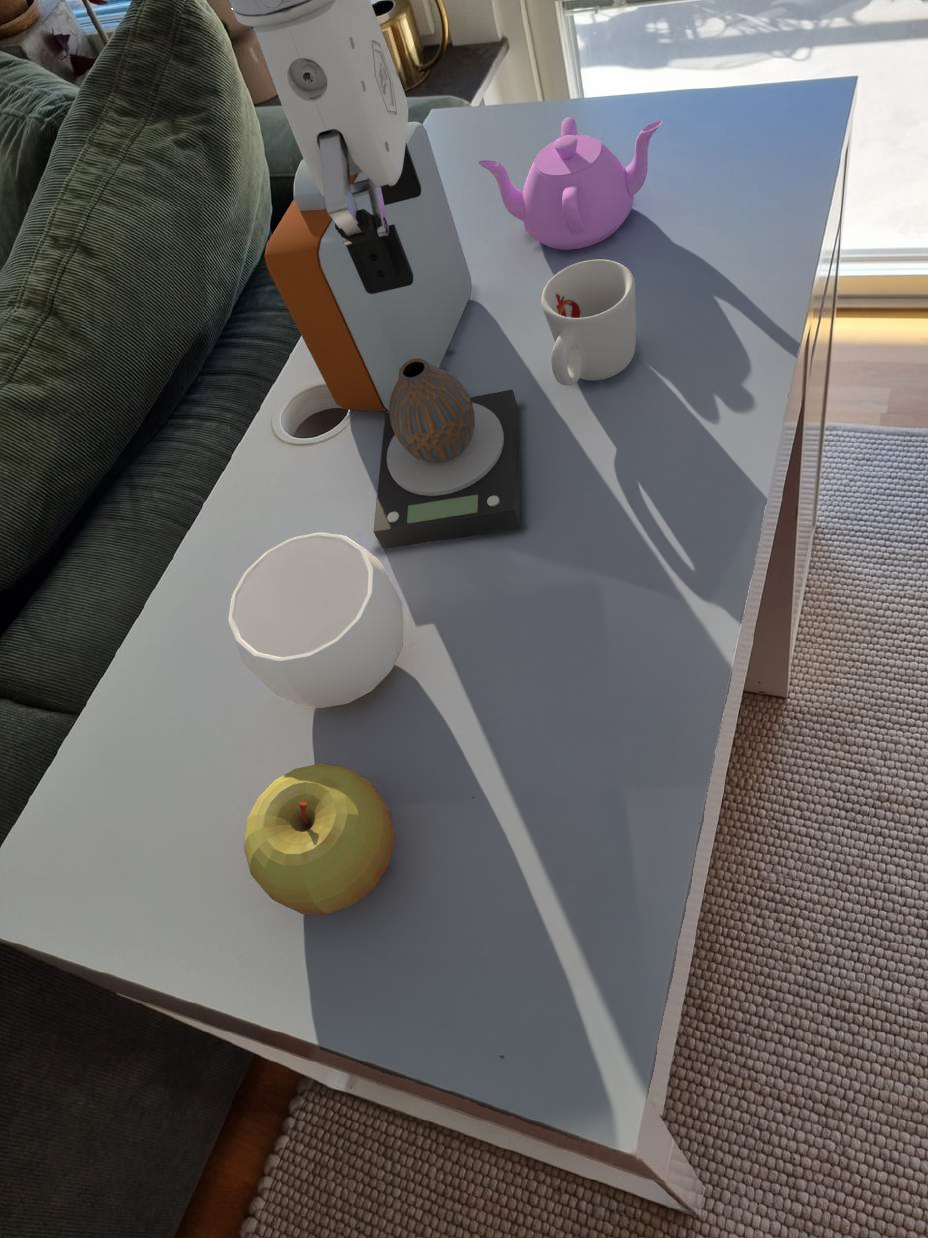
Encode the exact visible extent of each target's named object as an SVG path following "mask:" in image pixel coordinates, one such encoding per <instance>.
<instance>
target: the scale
mask: <svg viewBox="0 0 928 1238" xmlns="http://www.w3.org/2000/svg"><path fill="white" fill-rule="evenodd" d="M470 399H471V401H472V404H473V408H474V413H475V428H474V433H473V436H472V439H471V441H470V442H469V444H468V446H467V447H466V448H465V450H464V451H463V452H462V453H460V454H459V455H458V456H457V457H455V458H453V459H451V460H449V461H446V462H440V463H431V462H426V461H422V460H419V459H417V458H416V457H414V456H413V455H411V454H410V453H409V452H408V451H407V450H406V449H405V448H404V447H403V446H402V445H401V444H400V442H399V440H398V439H397V437H396V435H395V433H394V431H393V428H392V425H391V421H390V412H389V411H387V412H385V413H384V422H383V430H382V431H383V432H382V440H381V441H382V443H381V452H380V461H379V473H378V484H377V492H376V493H377V494H376V502H375V513H374V525H373V533H374V535H375V537H376V539H377V541H378V542H379V544H380V547H381V548H382V550H385V549H392V548H398V547H404V546H412V545H418V544H425V543H432V542H438V541H444V540H450V539H452V540H453V539H458V538H465V537H472V536H477V535H484V534H485V535H486V534H490V533H497V532H503V531H510V530H516V529H517V530H518V529H521V494H520V493H521V489H520V488H521V486H520V484H521V483H520V482H521V481H520V479H521V477H520V408H519V405H518V402H517V398H516V393H515V392H514V389H506V390H501V391H496V392H491V393H484V394H480V395H475V396H474V395H473V396H470Z"/></svg>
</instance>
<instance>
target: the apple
mask: <svg viewBox="0 0 928 1238" xmlns="http://www.w3.org/2000/svg"><path fill="white" fill-rule="evenodd" d="M392 817H393V816H392V813H391V811H390V809H389V807H388V805H387V804H386V802H385V801H384V799H383V798H382V797H381V795H380V793H379V791H378V790H377V789H376V787H375V786H374V785H373V784H372V783H371V782H370V781H369V780H368V779H367V778H365V777H363V776H362V775H360V774H359V773H357V772H356V771H353V770H352V769H350V768H349V767H345V766H338V765H332V764H325V763H317V764H316V763H315V764H311V765H306V766H302V767H296V768H294V769H292V770H291V771H288V772H287V773H285V774H283V775H282V776H280V777H278V778H276V779H274V781H272V782H271V783H270V784H269V786H268V787H267V788H266V789H265V790H264V791H263V792H262V793H261V794H260V795H259V796H258V797H257V799H256V801H255V803H254V805H253V807H252V808H251V811H250V814H249V815H248V817H247V820H246V827H245V835H244V842H243V843H244V845H243V846H244V848H243V849H244V855H245V858H246V863H247V866H248V870H249V874H250V875H251V877H252V878H253V879H254V881H255V882H256V883H257V884H258V885H259V887H260V888H261V889H262V890H263V891H264V892H265V894H266V895H267V896H268V897H269V898H270V899H271V900H273V901H274V902H276V903H277V904H279V905H282V906H284V907H286V908H289V909H290V910H293V911H294V912H297V913H299V914H301V915H329V914H332V913H335V912H339V911H340V910H343V909H345V908H349V907H351V906H354V905H356V904H357V903H359V902H360V901H362V899H363V898H364V897H365V896H367V895H368V894H369V893H370V892H372V891H373V890H374V889H375V888H376V887H377V885H378V883H379V882H380V880H381V879H382V877H383V875H384V874H385V872H386V870H387V868H388V867H389V865H390V862H391V858H392V854H393V849H394V848H393V847H394V844H395V839H396V836H395V835H396V834H395V830H394V824H393V818H392Z"/></svg>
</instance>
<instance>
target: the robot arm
mask: <svg viewBox="0 0 928 1238" xmlns="http://www.w3.org/2000/svg"><path fill="white" fill-rule="evenodd" d="M227 1H228V3H229V6H230V8H231V10H232V12H233V15H234V17H235V19H236V21H237V22H238V23H239V24H241V25H244V26H246V27H253V28H254V32H255V34H256V37H257V41H258V43H259V46H260V49H261V52H262V54H263V58H264V61H265V63H266V67H267V70H268V72H269V74H270V77H271V80H272V83H273V86H274V88H275V91H276V94H277V96H278V99H279V101H280V104H281V106H282V109H283V112H284V114H285V116H286V120H287V122H288V125H289V127H290V129H291V132H292V135H293V138H294V139H295V142H296V145H297V147H298V149H299V152H300V153H301V156H302V158H304V161H305V163H306V165H307V167H308V169H309V172H310V174H311V176H312V178H313V180H314V182H315V184H316V186H317V188H318V189H319V191H320V193H321V194H322V195H323V196H324V197H325V205H326V209H327V212H328V214H329V216H330V217H331V218H332V220H333V221H334V222H335V228H336V230H338V233H339V234H340V235H341V239H342V241H343V244H344V245H345V246H346V247H347V249H348V251H349V254H350V256H351V258H352V261H353V263H354V265H355V267H356V270H357V272H358V274H359V277H360V279H361V281H362V284H363V286H364V288H365V290H366V292H367V293H369V294H375V293H379V292H384V291H388V290H392V289H397V288H401V287H405V286H409V285H411V284H412V283H413V277H414V275H413V272H412V269H411V267H410V264H409V262H408V259H407V256H406V254H405V251H404V248H403V246H402V243H401V240H400V238H399V235H398V233H397V230H396V227H395V225H394V224H393V225H388V221H387V216H386V211H385V206H384V205H388V204H392V203H396V202H400V201H404V200H408V199H412V198H416V197H419V196H420V194H421V184H420V182H419V179H418V176H417V173H416V170H415V167H414V164H413V161H412V158H411V155H410V152H409V149H408V146H407V143H406V136H407V125H408V122H409V105H408V100H407V95H406V93H405V90H404V88H403V85H402V82H401V79H400V76H399V74H398V71H397V69H396V66H395V65H396V64H395V63H394V60H393V58H392V55H391V52H390V50H389V47H388V44H387V42H386V39H385V36H384V34H383V31H382V28H381V25H380V23H379V20H378V17H377V15H376V12H375V10H374V7H373V5H372V2H371V0H227ZM361 172H363V173H364V174H365V175H366V176H367V177H368V179H365V180H362V181H358V182H354V183H351V181H350V175H354V174H357V173H361ZM367 194H369V199H370V204H371V208H372V213H373V215H372V214H370V213H369V212H368V211H366V210H365V209H361V210H358V209H357V204H356V202H355V200H354V198H355V197H359V196H363V195H367Z"/></svg>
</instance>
